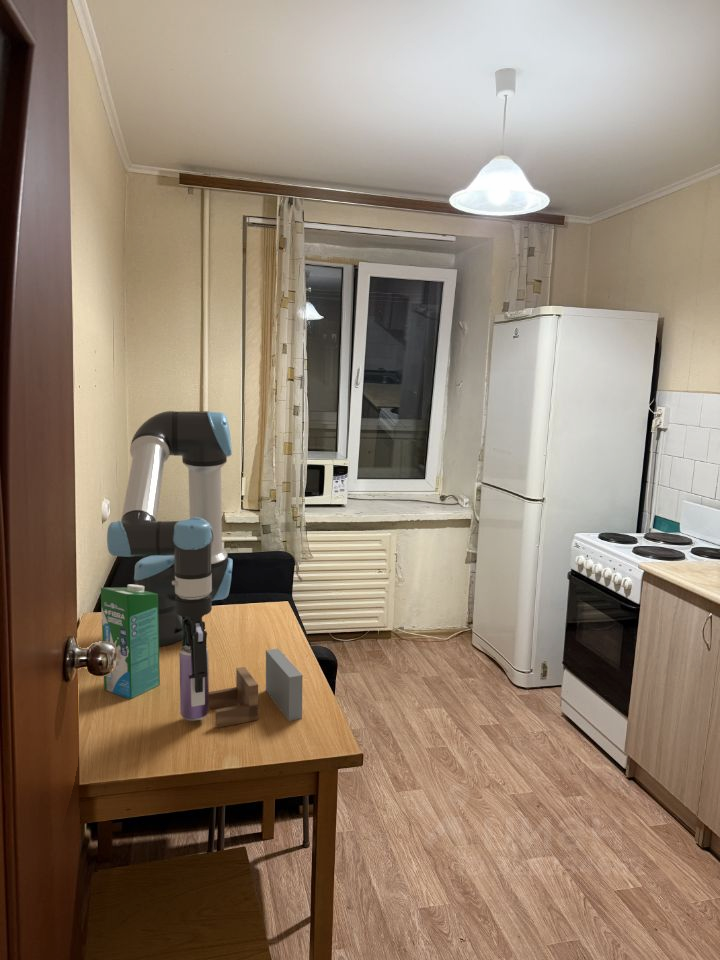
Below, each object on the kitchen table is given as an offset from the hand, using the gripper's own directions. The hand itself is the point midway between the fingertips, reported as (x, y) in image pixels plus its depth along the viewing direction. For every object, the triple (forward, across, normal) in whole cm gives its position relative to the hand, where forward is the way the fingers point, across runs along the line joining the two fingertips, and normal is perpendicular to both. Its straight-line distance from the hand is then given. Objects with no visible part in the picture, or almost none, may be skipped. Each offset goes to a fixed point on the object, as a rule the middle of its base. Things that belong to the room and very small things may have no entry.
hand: (194, 697), depth 147 cm
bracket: (+5, 0, +8) cm, 10 cm away
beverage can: (+4, 0, 0) cm, 4 cm away
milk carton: (+6, -22, -10) cm, 25 cm away
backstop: (+5, 0, +20) cm, 21 cm away
